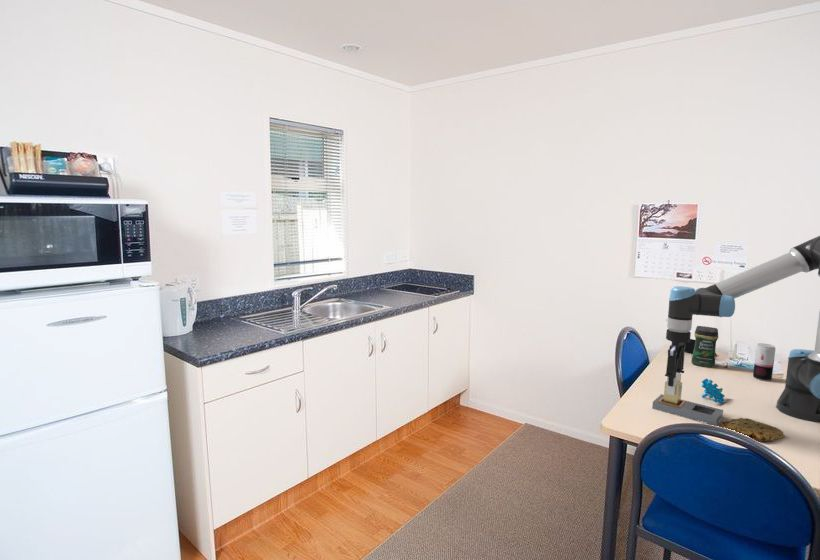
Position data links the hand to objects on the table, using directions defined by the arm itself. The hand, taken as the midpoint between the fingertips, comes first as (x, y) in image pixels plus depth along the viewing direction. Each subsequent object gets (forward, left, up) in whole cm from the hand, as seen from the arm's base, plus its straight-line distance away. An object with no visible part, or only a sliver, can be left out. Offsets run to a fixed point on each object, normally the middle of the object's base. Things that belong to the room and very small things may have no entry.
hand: (672, 391), depth 169 cm
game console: (+12, -85, -7) cm, 87 cm away
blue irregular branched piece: (-9, -20, -7) cm, 23 cm away
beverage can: (-19, -64, -7) cm, 67 cm away
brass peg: (0, 0, -6) cm, 6 cm away
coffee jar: (+4, -67, -7) cm, 67 cm away
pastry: (-24, +1, -7) cm, 25 cm away
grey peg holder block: (-5, 0, -6) cm, 8 cm away
